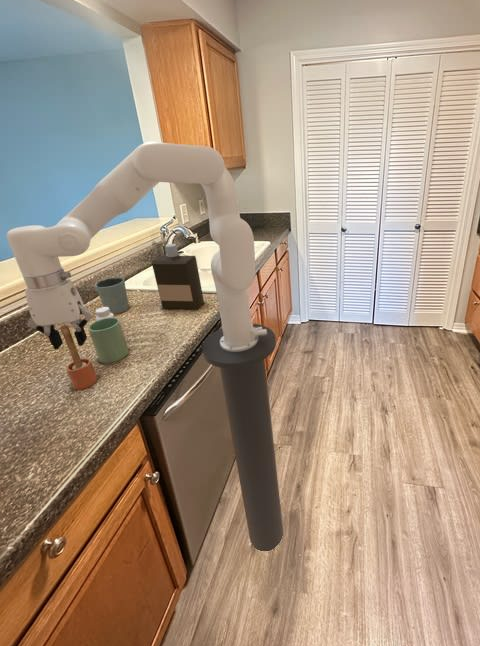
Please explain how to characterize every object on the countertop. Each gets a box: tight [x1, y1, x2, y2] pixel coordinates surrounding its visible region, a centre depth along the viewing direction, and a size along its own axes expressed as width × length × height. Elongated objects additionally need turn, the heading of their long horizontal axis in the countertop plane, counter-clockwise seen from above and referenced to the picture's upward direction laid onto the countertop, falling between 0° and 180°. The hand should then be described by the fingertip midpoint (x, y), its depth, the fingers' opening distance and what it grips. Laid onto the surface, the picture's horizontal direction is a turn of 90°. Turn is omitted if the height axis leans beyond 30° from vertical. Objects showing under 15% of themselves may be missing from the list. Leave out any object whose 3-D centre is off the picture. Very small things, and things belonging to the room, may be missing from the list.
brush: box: [59, 324, 87, 370], centre depth 84 cm, size 3×3×17 cm
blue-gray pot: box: [94, 276, 130, 315], centre depth 127 cm, size 10×10×12 cm
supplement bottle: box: [95, 306, 115, 321], centre depth 109 cm, size 5×5×10 cm
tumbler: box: [87, 316, 130, 364], centre depth 97 cm, size 8×8×11 cm
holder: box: [65, 357, 98, 390], centre depth 87 cm, size 6×6×6 cm
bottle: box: [150, 243, 205, 310], centre depth 125 cm, size 8×16×25 cm, turn 82°
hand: (70, 344), depth 83 cm, fingers open, 4 cm apart
